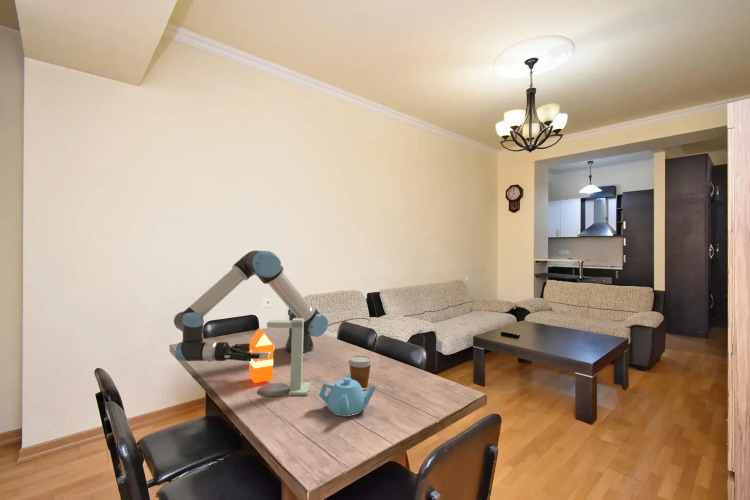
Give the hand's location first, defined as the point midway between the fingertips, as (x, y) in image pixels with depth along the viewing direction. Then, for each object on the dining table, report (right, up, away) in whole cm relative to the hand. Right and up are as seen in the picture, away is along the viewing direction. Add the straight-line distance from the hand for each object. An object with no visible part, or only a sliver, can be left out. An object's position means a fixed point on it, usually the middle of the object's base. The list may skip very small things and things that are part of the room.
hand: (271, 351), depth 146 cm
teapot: (+33, -14, -23) cm, 43 cm away
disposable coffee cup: (+37, -14, -5) cm, 40 cm away
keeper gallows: (+9, -13, -9) cm, 18 cm away
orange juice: (-5, -11, 0) cm, 12 cm away
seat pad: (+4, -13, -9) cm, 16 cm away
